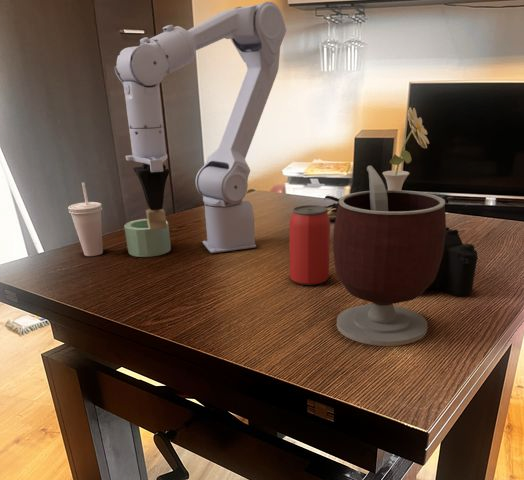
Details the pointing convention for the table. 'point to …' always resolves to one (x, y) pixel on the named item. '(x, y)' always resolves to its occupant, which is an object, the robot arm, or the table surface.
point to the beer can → (309, 245)
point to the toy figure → (332, 207)
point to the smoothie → (88, 225)
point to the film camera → (456, 266)
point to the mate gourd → (387, 259)
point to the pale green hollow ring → (146, 239)
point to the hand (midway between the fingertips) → (155, 208)
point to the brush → (156, 219)
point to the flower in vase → (406, 152)
